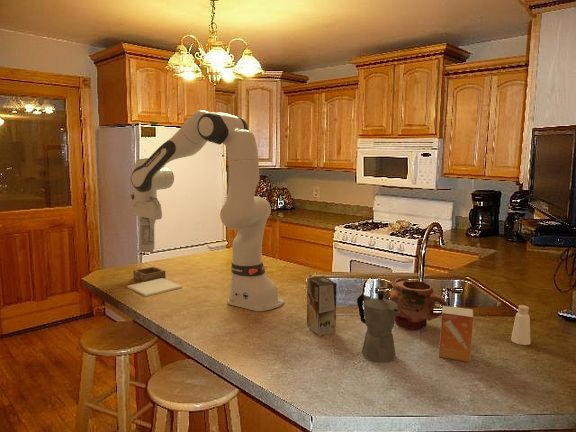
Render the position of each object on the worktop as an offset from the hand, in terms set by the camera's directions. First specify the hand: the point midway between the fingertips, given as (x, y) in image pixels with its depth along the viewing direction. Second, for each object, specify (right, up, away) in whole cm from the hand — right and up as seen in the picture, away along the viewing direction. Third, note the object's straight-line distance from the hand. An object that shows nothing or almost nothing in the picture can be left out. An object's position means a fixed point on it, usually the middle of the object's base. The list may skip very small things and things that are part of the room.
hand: (147, 227), depth 191 cm
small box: (+108, -34, -69) cm, 132 cm away
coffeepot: (+86, -34, -68) cm, 115 cm away
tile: (+6, -25, -10) cm, 27 cm away
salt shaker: (+131, -33, -60) cm, 148 cm away
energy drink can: (-1, -11, +2) cm, 11 cm away
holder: (0, -23, +3) cm, 23 cm away
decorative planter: (+103, -31, -48) cm, 118 cm away
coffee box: (+72, -31, -51) cm, 94 cm away
